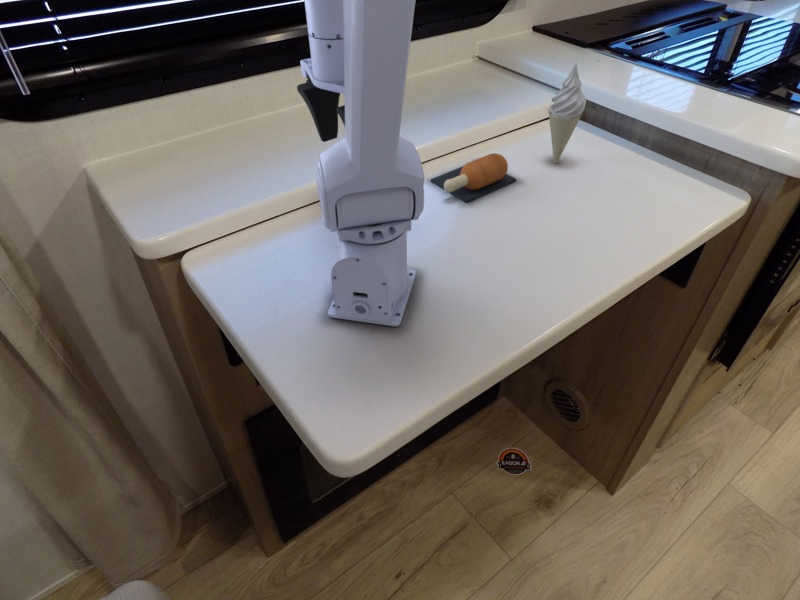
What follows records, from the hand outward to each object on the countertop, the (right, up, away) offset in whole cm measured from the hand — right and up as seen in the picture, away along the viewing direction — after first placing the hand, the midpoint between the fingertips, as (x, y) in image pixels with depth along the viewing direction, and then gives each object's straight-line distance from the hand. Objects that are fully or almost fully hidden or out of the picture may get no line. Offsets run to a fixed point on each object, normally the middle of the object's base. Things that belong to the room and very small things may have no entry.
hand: (344, 149), depth 67 cm
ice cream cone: (+31, +3, +17) cm, 36 cm away
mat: (+18, -1, +12) cm, 22 cm away
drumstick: (+17, -1, +11) cm, 21 cm away
